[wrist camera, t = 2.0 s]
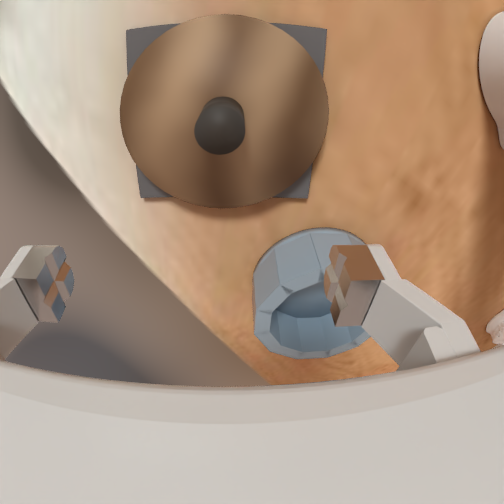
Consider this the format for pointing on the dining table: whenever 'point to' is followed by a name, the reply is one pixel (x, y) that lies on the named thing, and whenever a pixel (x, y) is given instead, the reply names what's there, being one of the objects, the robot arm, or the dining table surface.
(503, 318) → the skull bowl
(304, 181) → the mat
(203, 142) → the lid
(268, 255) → the bowl
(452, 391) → the robot arm
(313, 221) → the dining table surface
